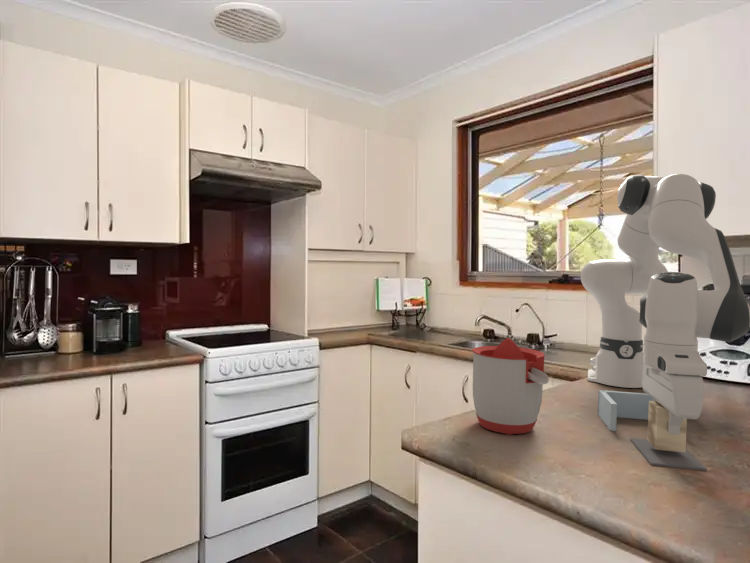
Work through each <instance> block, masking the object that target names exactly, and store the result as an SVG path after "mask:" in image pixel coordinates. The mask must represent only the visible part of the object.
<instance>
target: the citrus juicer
mask: <svg viewBox="0 0 750 563" xmlns="http://www.w3.org/2000/svg"><path fill="white" fill-rule="evenodd" d="M472 353H473V354H472V355H473V358H472V360H473V362H472V399H473V400H472V401H473V405H474V409H475V414H476V418H477V421H478V422H479V425H480V426H482V427H483V428H485V429H487V430H489V431H492V432H495V433H500V434H501V433H502V434H504V435H507V436H510V435H511V436H512V435H514V434H515V435H516V434H517V435H518V434H519V435H520V434H526V433H529V432H531V431H532V430H533V429H534V427H535V425H536V423H537V421H538V416H539V413H540V411H541V406H542V402H543V386H544V385H546V384H548V383H549V376H548V375H547V373H546V372H545V356H546V355H545V353H544V352H543V351H539V350H537V349H532V348H527V347H520V346H518V345H517V344H516V342H515V341H514V340H512V339H511V338H509V337H507V338H505V339H503V340H502V341H501V342H500V344H499V345H483V346H476V347H474V348H472Z"/></svg>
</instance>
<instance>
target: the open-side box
mask: <svg viewBox="0 0 750 563" xmlns="http://www.w3.org/2000/svg"><path fill="white" fill-rule="evenodd" d="M597 395H598V396H597V397H598V399H597V415H598V417H599V418H600V419H601V421H602V422H603V423H604V425H605V426H606V425H607V426H606V428H607V429H608V430H609V431H610V430H611V432H617V419H618V418H622V419H633V420H634V419H636V420H645V421H648V411H649V401H653V398H652V397H651V396H649V395H648V394H647V393H646V392H629V391H618V390H617V391H616V390H606V389H605V390H603V389H598V394H597Z"/></svg>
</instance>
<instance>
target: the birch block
mask: <svg viewBox="0 0 750 563" xmlns="http://www.w3.org/2000/svg"><path fill="white" fill-rule="evenodd" d="M668 412H669V411H668V410H667V409H666V408H665V407H663V406H662V405H661V404H660V403H658V402H657V401H649V411H648V420H647V439H646V440H648V441H649V443H650V444H651V445H652V446H653V447H654V448H655V449H656V450H666V451H676V452H686V450H687V449H686V448H687V428H688V427H687V426H688V425H687V423H688V419H683V421H682V423H681V426H680V434H678V435H675V434H670V433H669V432H668V431H667V422H668V421H669V415H668Z"/></svg>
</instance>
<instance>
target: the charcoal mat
mask: <svg viewBox="0 0 750 563" xmlns="http://www.w3.org/2000/svg"><path fill="white" fill-rule="evenodd" d="M629 440H630V441H632V442H631V443H632V444H633V445H634V446H635V448H636V449H637V450H638V451H639V453H640V454H641V455H642V456H643V457H644V459H645V460H646V461H647V463H649V465H651V466H659V467H667V468H679V469H685V470H686V469H687V470H696V471H704V472H706V471H707V468H706V467H705V466H704V464H703V463H701V461H700V460H698V459H697V458H696V457H695V456H694V455H693V454H691V452H689V451H688V450H687V449H686V452H676V451H666V450H656V449H655V448H654V447H653V446H652V445H651V444H650V443H649V441H648V440H647V439H644V438H635V437H633V438H632V437H629Z"/></svg>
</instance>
